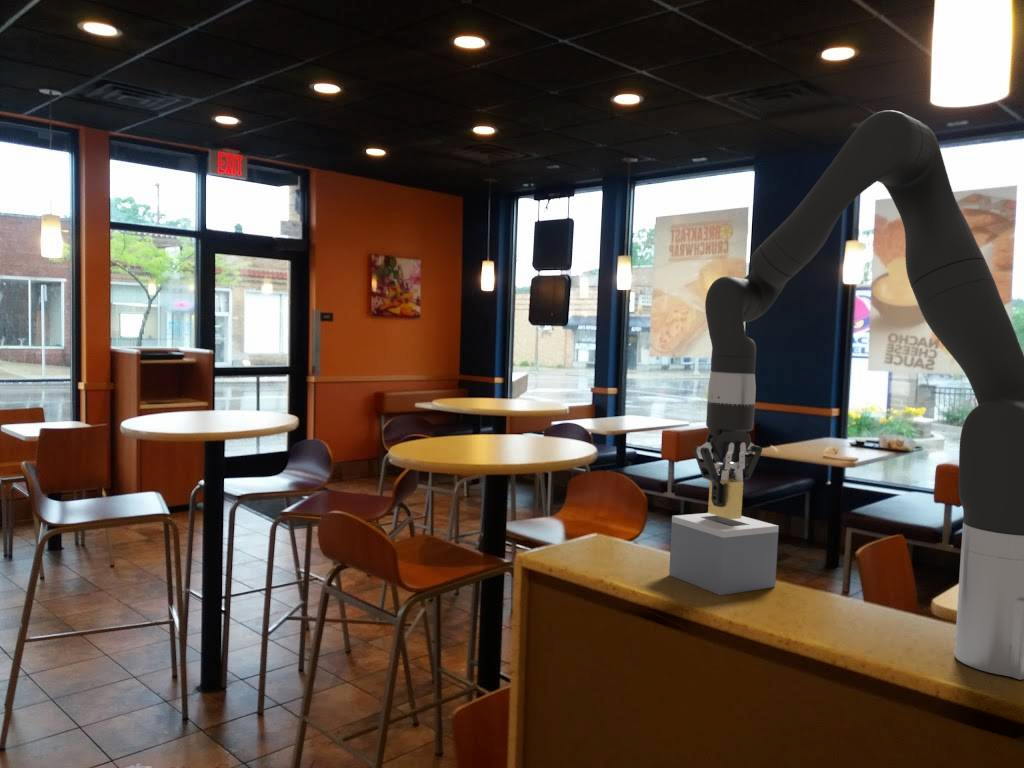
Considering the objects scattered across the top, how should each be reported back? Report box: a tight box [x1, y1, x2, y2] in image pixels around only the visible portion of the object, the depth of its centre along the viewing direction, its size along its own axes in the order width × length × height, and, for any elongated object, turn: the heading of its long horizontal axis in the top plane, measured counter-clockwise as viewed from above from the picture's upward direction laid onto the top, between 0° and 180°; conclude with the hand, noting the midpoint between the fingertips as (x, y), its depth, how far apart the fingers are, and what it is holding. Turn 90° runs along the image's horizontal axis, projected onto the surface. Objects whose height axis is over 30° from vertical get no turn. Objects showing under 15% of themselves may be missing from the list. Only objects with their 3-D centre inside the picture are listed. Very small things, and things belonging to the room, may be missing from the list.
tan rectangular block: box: [707, 478, 744, 519], centre depth 134 cm, size 5×2×6 cm, turn 29°
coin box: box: [668, 512, 780, 596], centre depth 135 cm, size 12×12×10 cm
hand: (725, 505), depth 134 cm, fingers closed on tan rectangular block, 2 cm apart
